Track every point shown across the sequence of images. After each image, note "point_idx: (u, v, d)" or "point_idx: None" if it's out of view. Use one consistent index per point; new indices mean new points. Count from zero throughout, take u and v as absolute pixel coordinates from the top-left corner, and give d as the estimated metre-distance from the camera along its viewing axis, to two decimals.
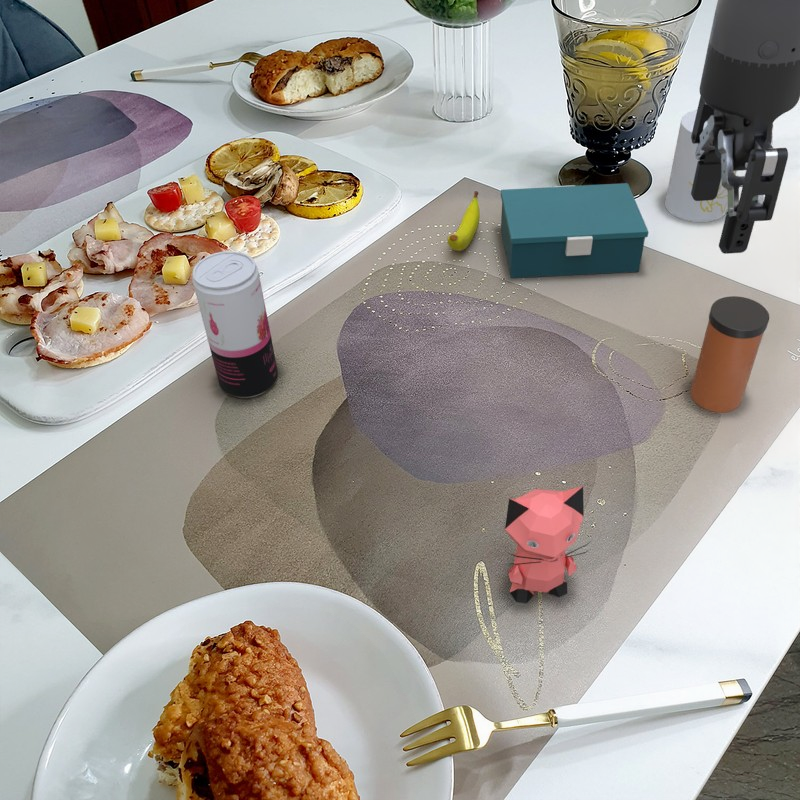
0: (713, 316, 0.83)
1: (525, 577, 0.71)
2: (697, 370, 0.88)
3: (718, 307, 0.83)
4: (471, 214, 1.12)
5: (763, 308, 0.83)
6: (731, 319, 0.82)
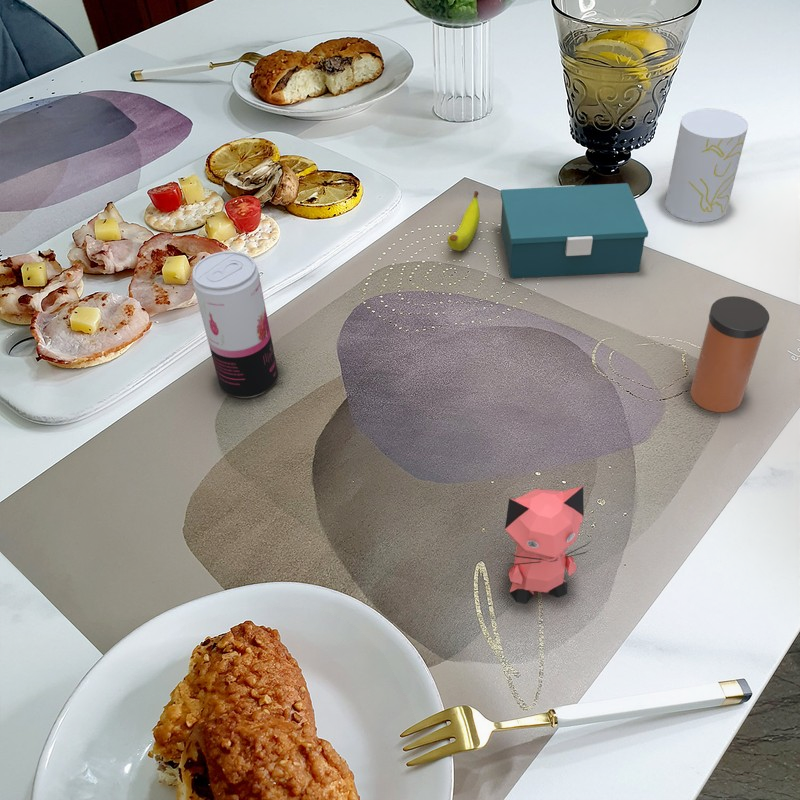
0: (713, 316, 0.83)
1: (525, 577, 0.71)
2: (697, 370, 0.88)
3: (718, 307, 0.83)
4: (471, 214, 1.12)
5: (763, 308, 0.83)
6: (731, 319, 0.82)
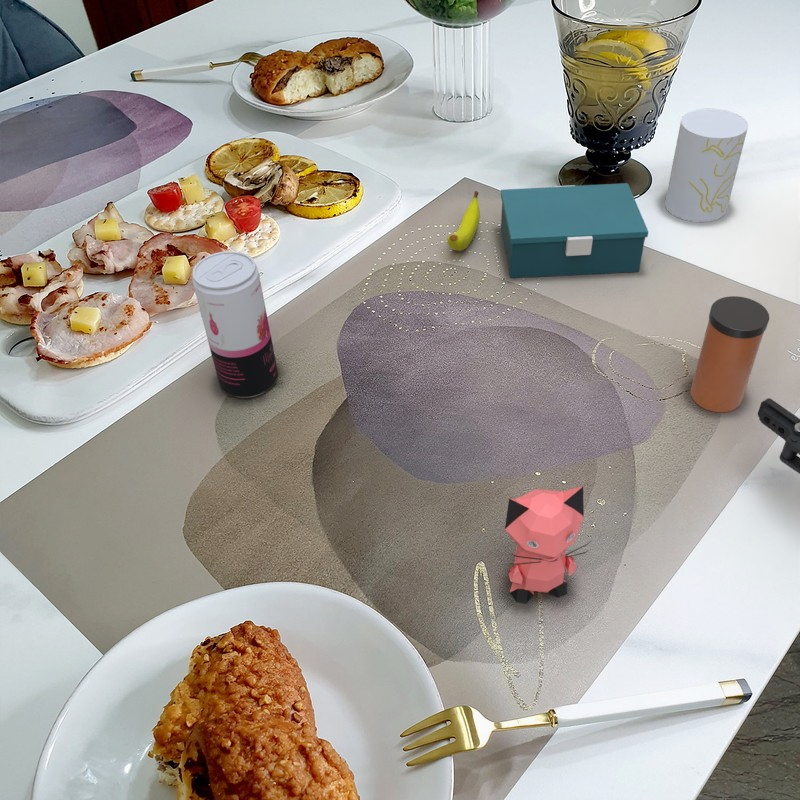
0: (713, 316, 0.83)
1: (525, 577, 0.71)
2: (697, 370, 0.88)
3: (718, 307, 0.83)
4: (471, 214, 1.12)
5: (763, 308, 0.83)
6: (731, 319, 0.82)
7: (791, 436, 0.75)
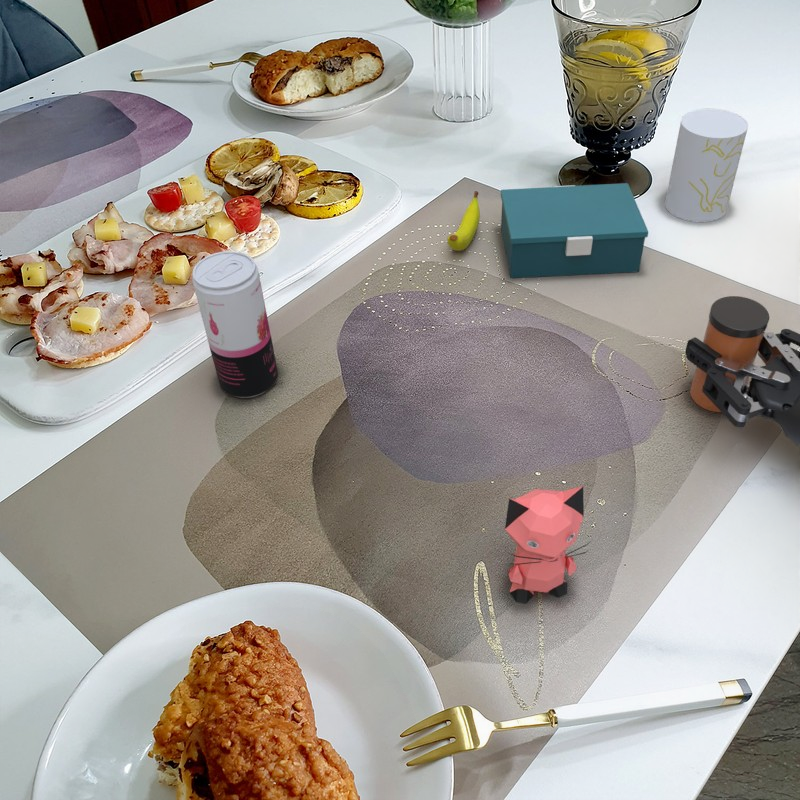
0: (713, 315, 0.83)
1: (525, 577, 0.71)
2: (697, 370, 0.88)
3: (718, 307, 0.83)
4: (471, 214, 1.12)
5: (763, 308, 0.83)
6: (731, 319, 0.82)
7: (711, 369, 0.82)
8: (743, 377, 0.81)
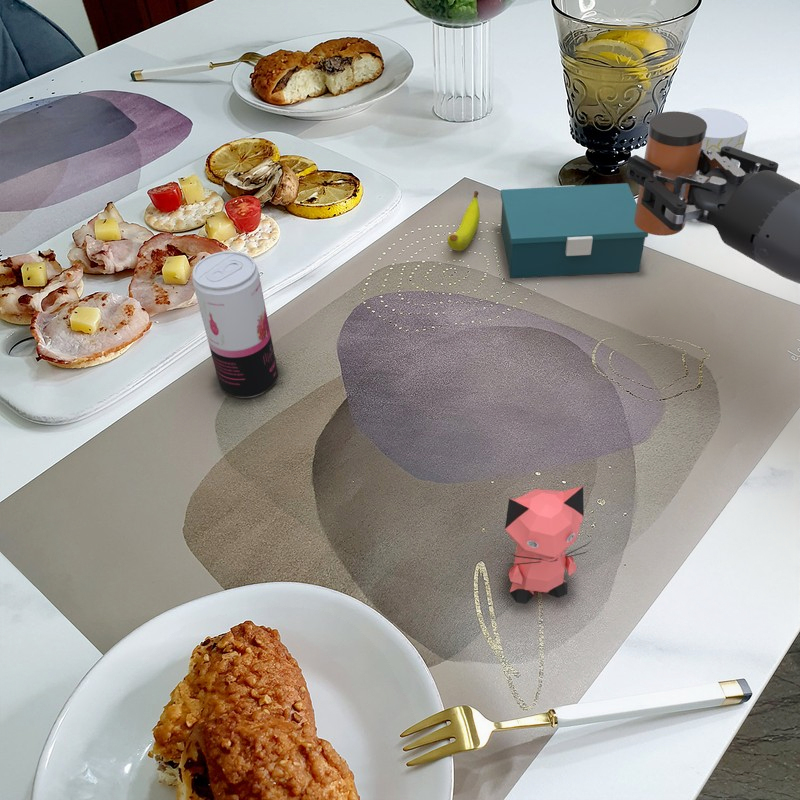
0: (651, 126, 0.83)
1: (525, 577, 0.71)
2: (639, 192, 0.88)
3: (657, 120, 0.83)
4: (471, 214, 1.12)
5: (701, 119, 0.83)
6: (669, 128, 0.82)
7: (649, 178, 0.82)
8: (681, 185, 0.81)
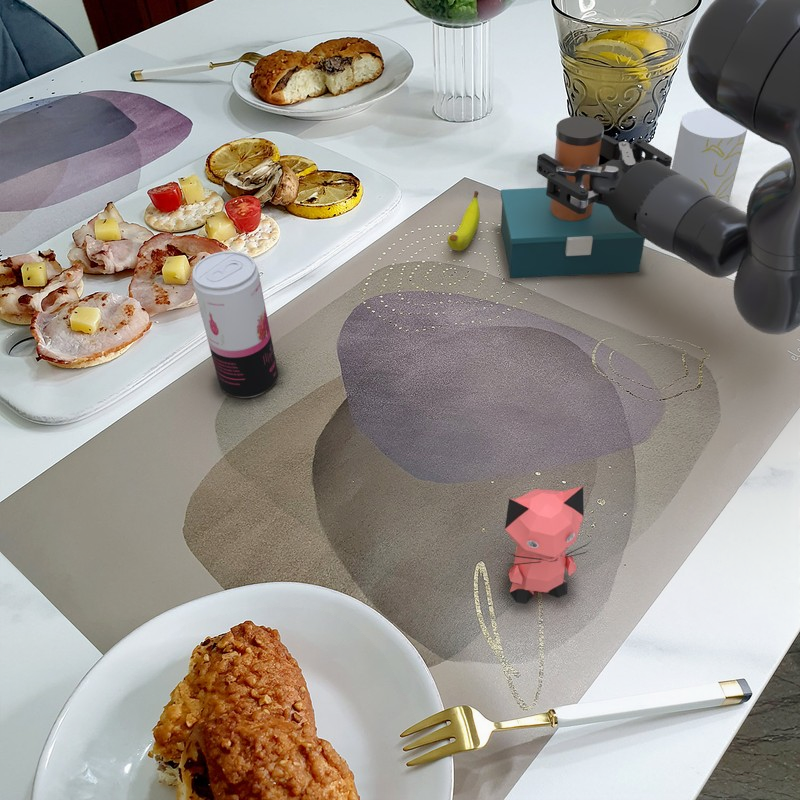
0: (557, 129, 0.99)
1: (525, 577, 0.71)
2: None
3: (563, 123, 1.00)
4: (471, 214, 1.12)
5: (600, 123, 0.99)
6: (572, 131, 0.98)
7: (551, 173, 0.97)
8: (581, 176, 0.97)
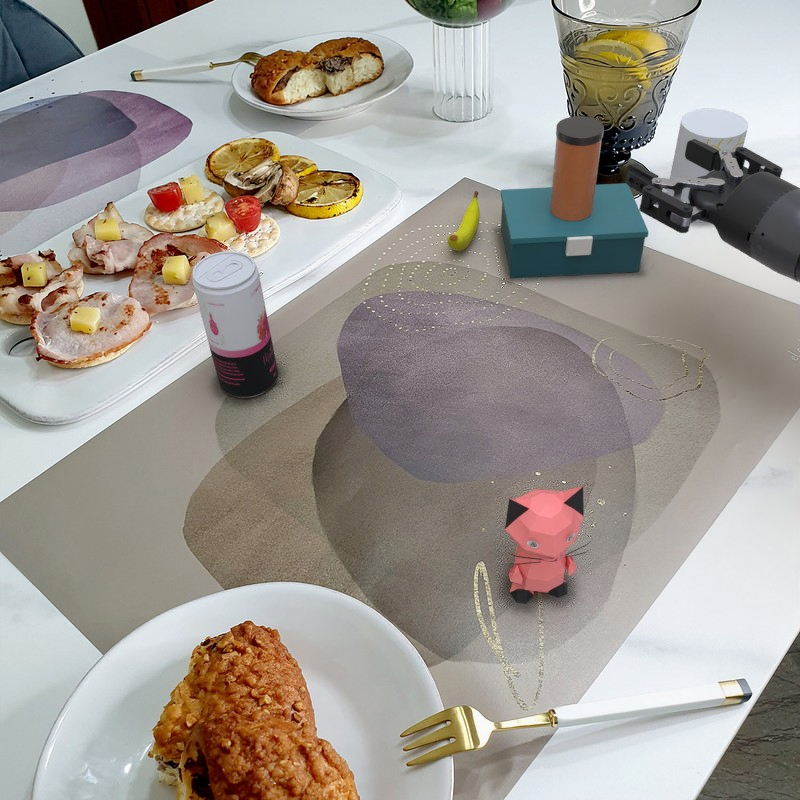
0: (557, 129, 0.99)
1: (525, 577, 0.71)
2: (552, 184, 1.04)
3: (563, 123, 1.00)
4: (471, 214, 1.12)
5: (600, 123, 0.99)
6: (572, 131, 0.98)
7: (647, 186, 0.85)
8: (681, 190, 0.85)
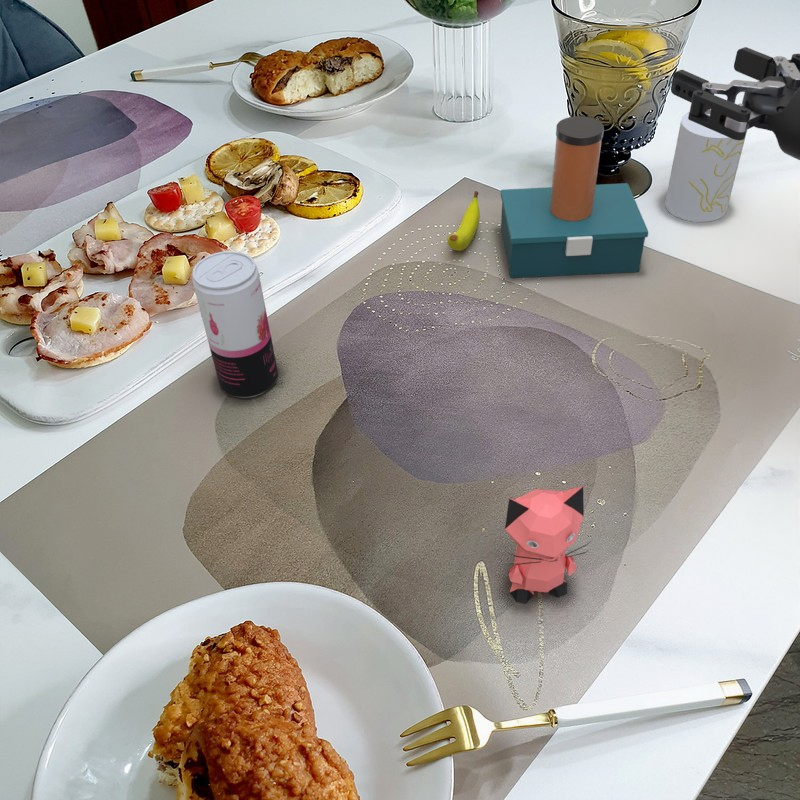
0: (557, 129, 0.99)
1: (525, 577, 0.71)
2: (552, 184, 1.04)
3: (563, 123, 1.00)
4: (471, 214, 1.12)
5: (600, 123, 0.99)
6: (572, 131, 0.98)
7: (697, 90, 0.77)
8: (735, 95, 0.77)
